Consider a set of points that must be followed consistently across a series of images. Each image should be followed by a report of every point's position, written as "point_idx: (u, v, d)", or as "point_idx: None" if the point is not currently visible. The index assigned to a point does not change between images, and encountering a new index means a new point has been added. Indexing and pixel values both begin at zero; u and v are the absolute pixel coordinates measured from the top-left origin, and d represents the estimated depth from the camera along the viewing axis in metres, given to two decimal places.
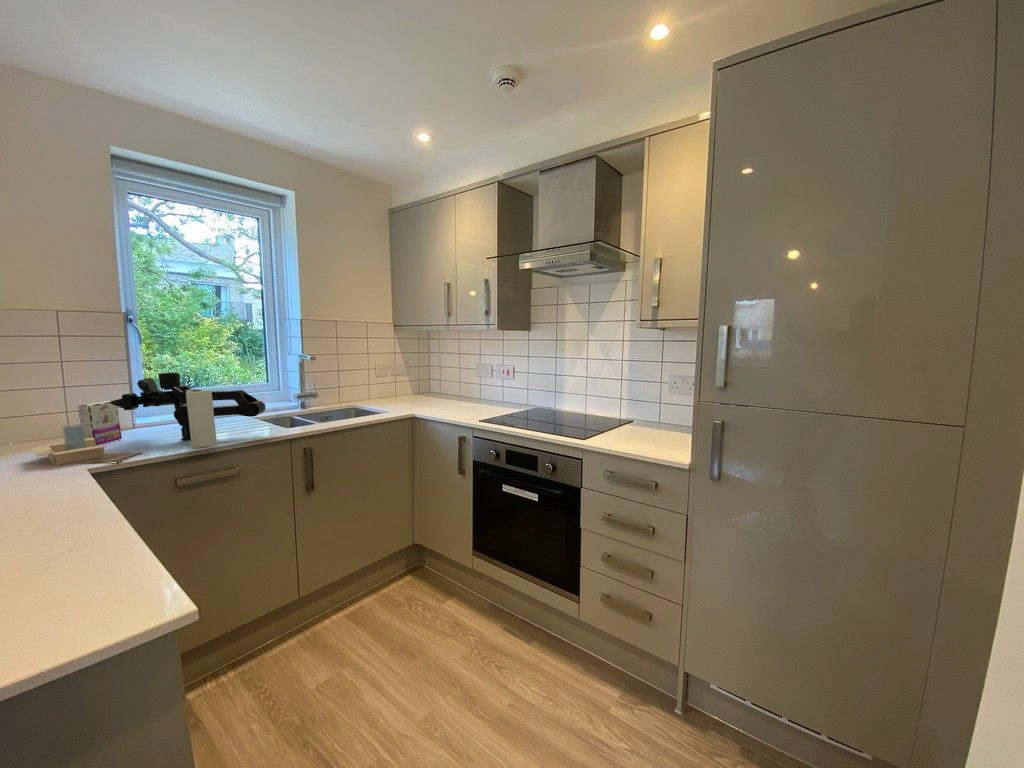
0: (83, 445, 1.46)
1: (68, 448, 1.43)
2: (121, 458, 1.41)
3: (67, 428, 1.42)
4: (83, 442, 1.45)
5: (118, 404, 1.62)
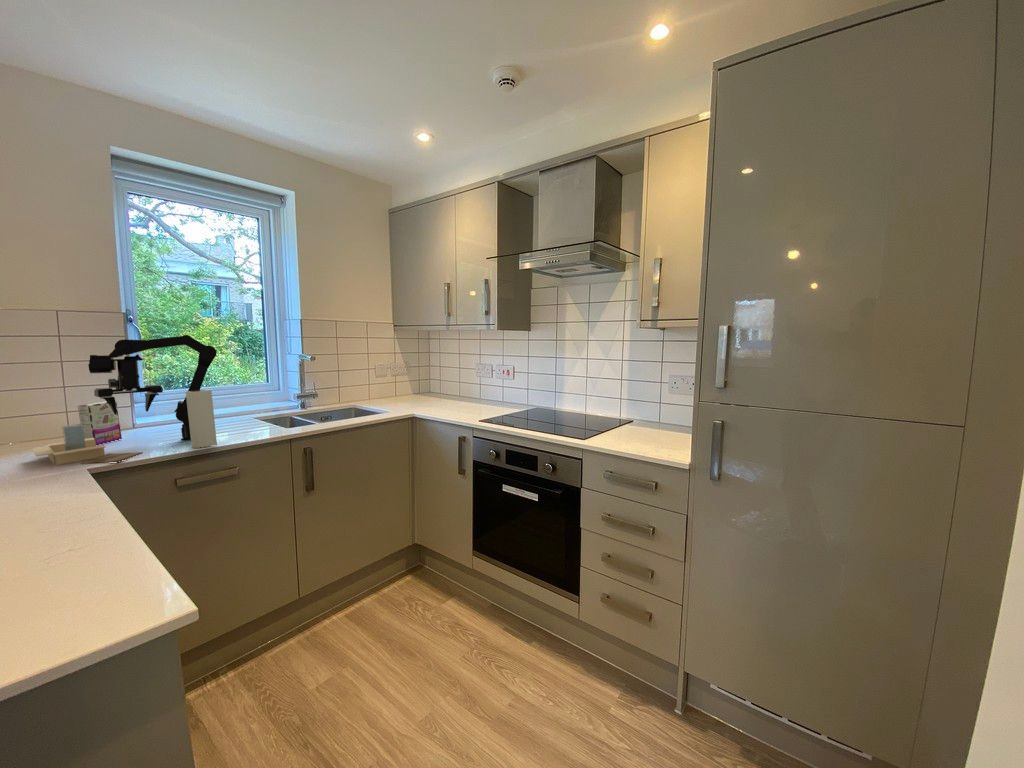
0: (83, 445, 1.46)
1: (68, 448, 1.43)
2: (121, 458, 1.41)
3: (67, 428, 1.42)
4: (83, 442, 1.45)
5: (111, 406, 1.55)
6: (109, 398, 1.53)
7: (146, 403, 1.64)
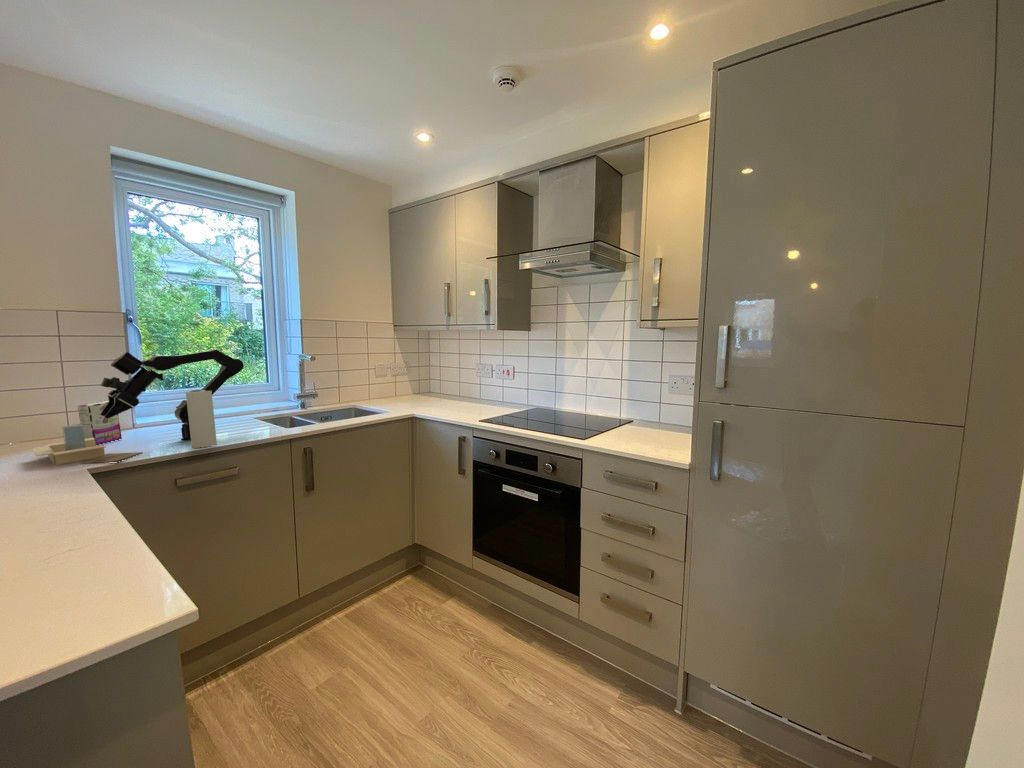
0: (83, 445, 1.46)
1: (68, 448, 1.43)
2: (121, 458, 1.41)
3: (67, 428, 1.42)
4: (83, 442, 1.45)
5: (117, 411, 1.50)
6: (131, 407, 1.52)
7: (109, 408, 1.56)
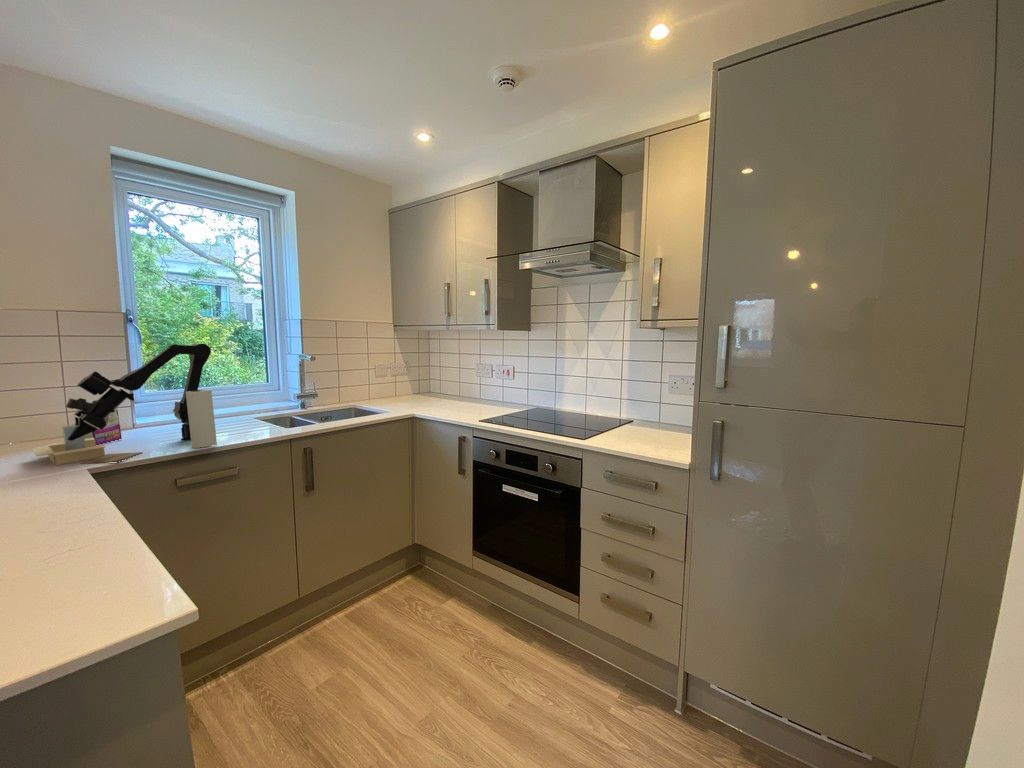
0: (83, 445, 1.46)
1: (68, 448, 1.43)
2: (121, 458, 1.41)
3: (67, 428, 1.42)
4: (83, 442, 1.45)
5: (81, 433, 1.44)
6: (96, 429, 1.46)
7: None
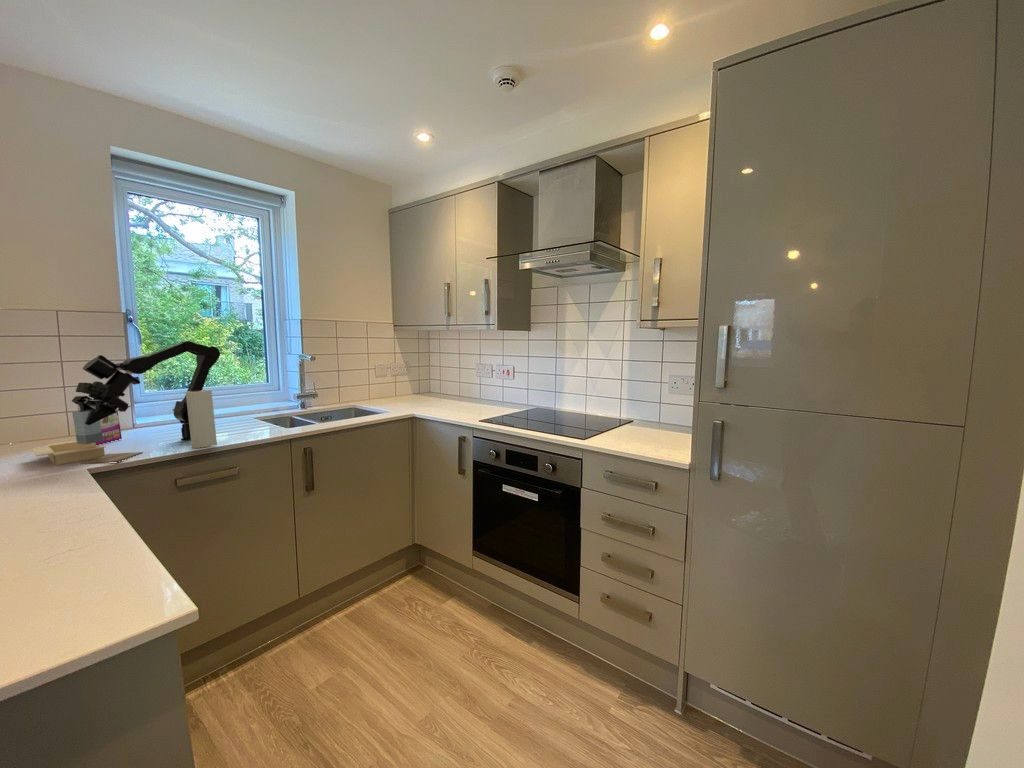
0: (99, 429, 1.44)
1: (86, 433, 1.40)
2: (121, 458, 1.41)
3: (84, 412, 1.40)
4: (99, 426, 1.44)
5: (99, 417, 1.43)
6: None
7: None
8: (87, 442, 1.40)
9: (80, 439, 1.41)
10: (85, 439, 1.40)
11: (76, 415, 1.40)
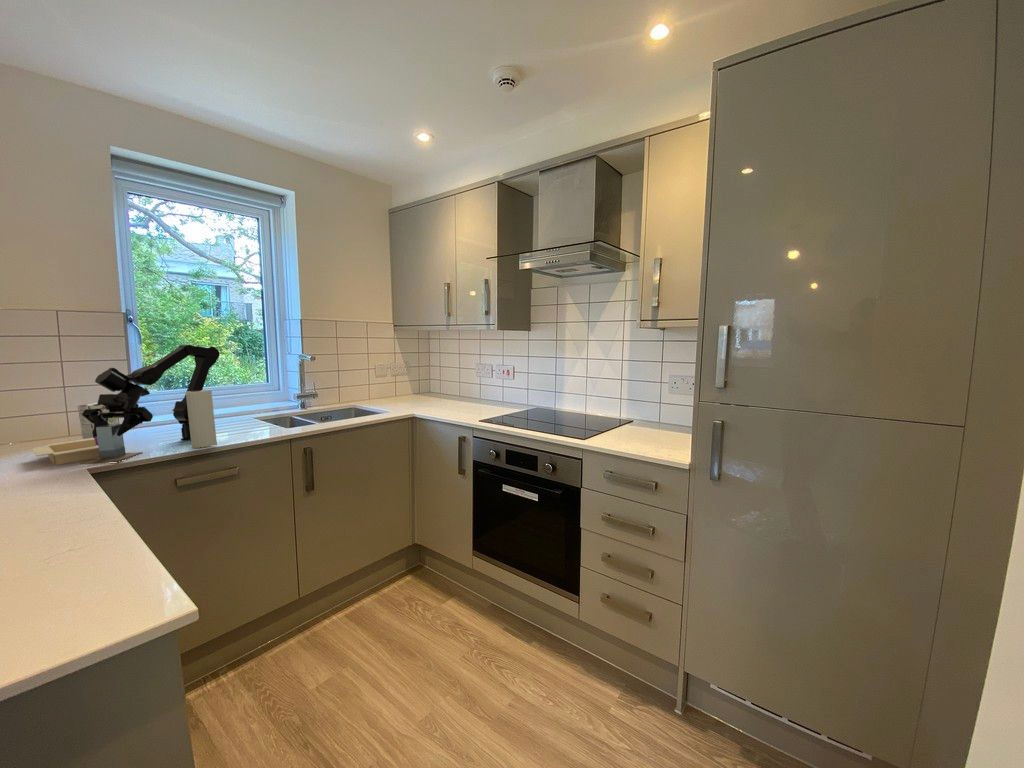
0: (122, 444, 1.44)
1: (114, 447, 1.41)
2: (121, 458, 1.41)
3: (113, 427, 1.41)
4: (123, 441, 1.44)
5: (127, 428, 1.44)
6: None
7: None
8: (115, 456, 1.41)
9: (105, 454, 1.40)
10: (113, 454, 1.41)
11: (102, 430, 1.40)
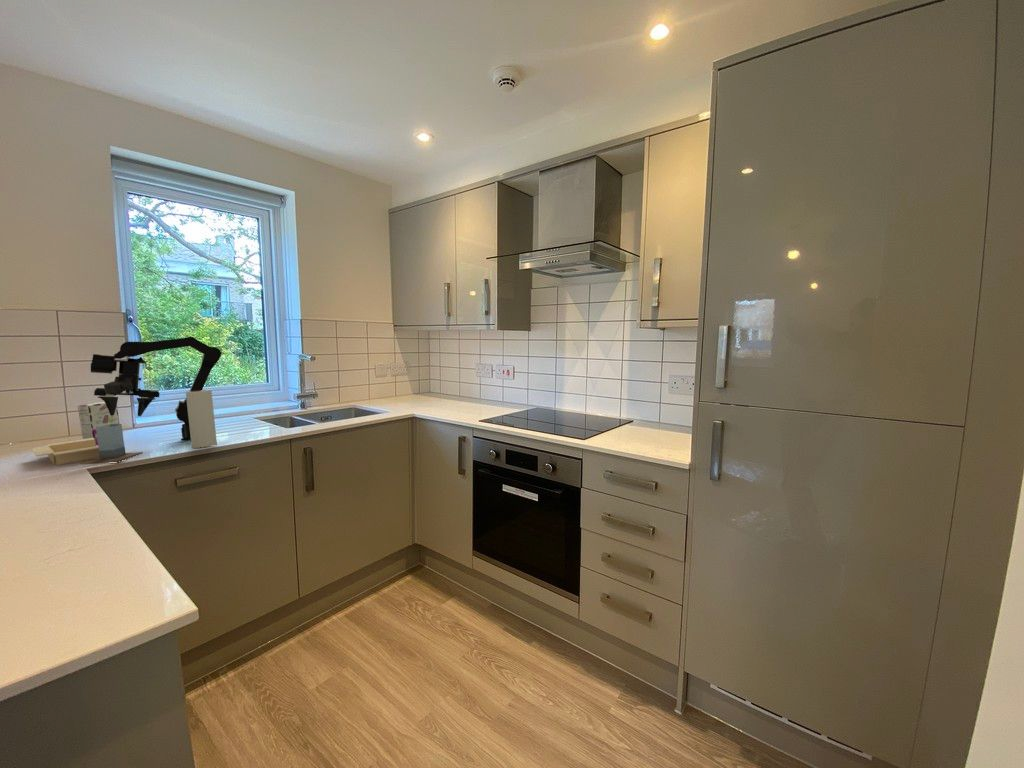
0: (122, 444, 1.44)
1: (114, 447, 1.41)
2: (121, 458, 1.41)
3: (113, 427, 1.41)
4: (123, 441, 1.44)
5: (145, 407, 1.59)
6: None
7: (113, 406, 1.57)
8: (115, 456, 1.41)
9: (105, 454, 1.40)
10: (113, 454, 1.41)
11: (102, 430, 1.40)
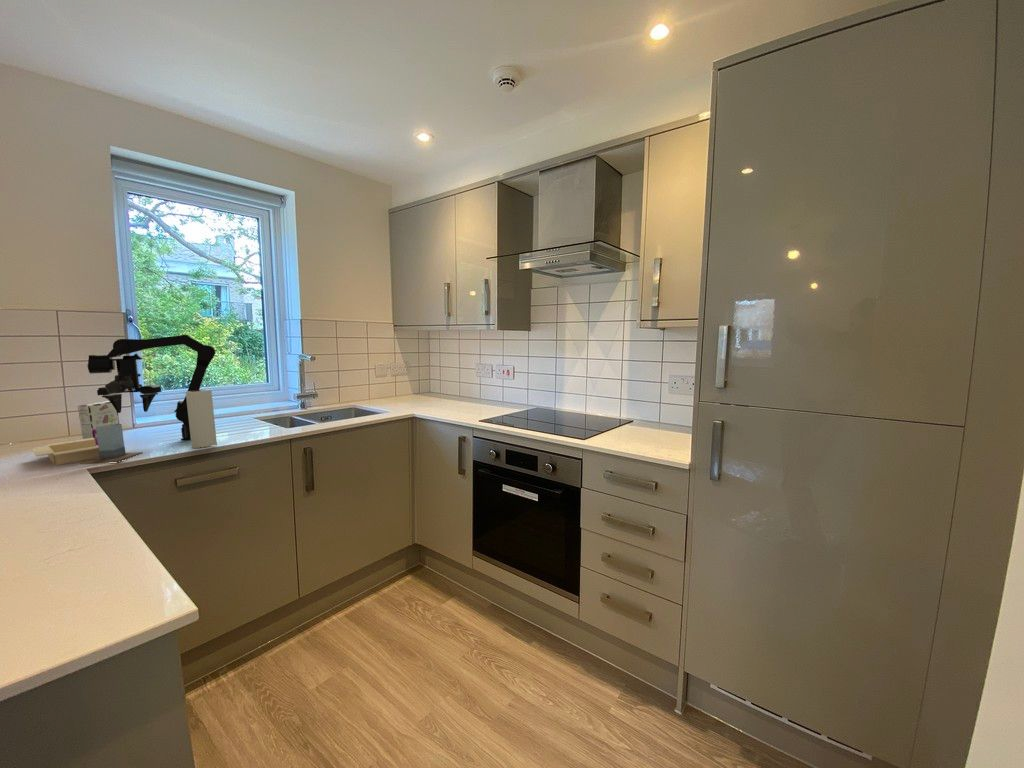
0: (122, 444, 1.44)
1: (114, 447, 1.41)
2: (121, 458, 1.41)
3: (113, 427, 1.41)
4: (123, 441, 1.44)
5: (149, 402, 1.62)
6: None
7: (118, 404, 1.60)
8: (115, 456, 1.41)
9: (105, 454, 1.40)
10: (113, 454, 1.41)
11: (102, 430, 1.40)
